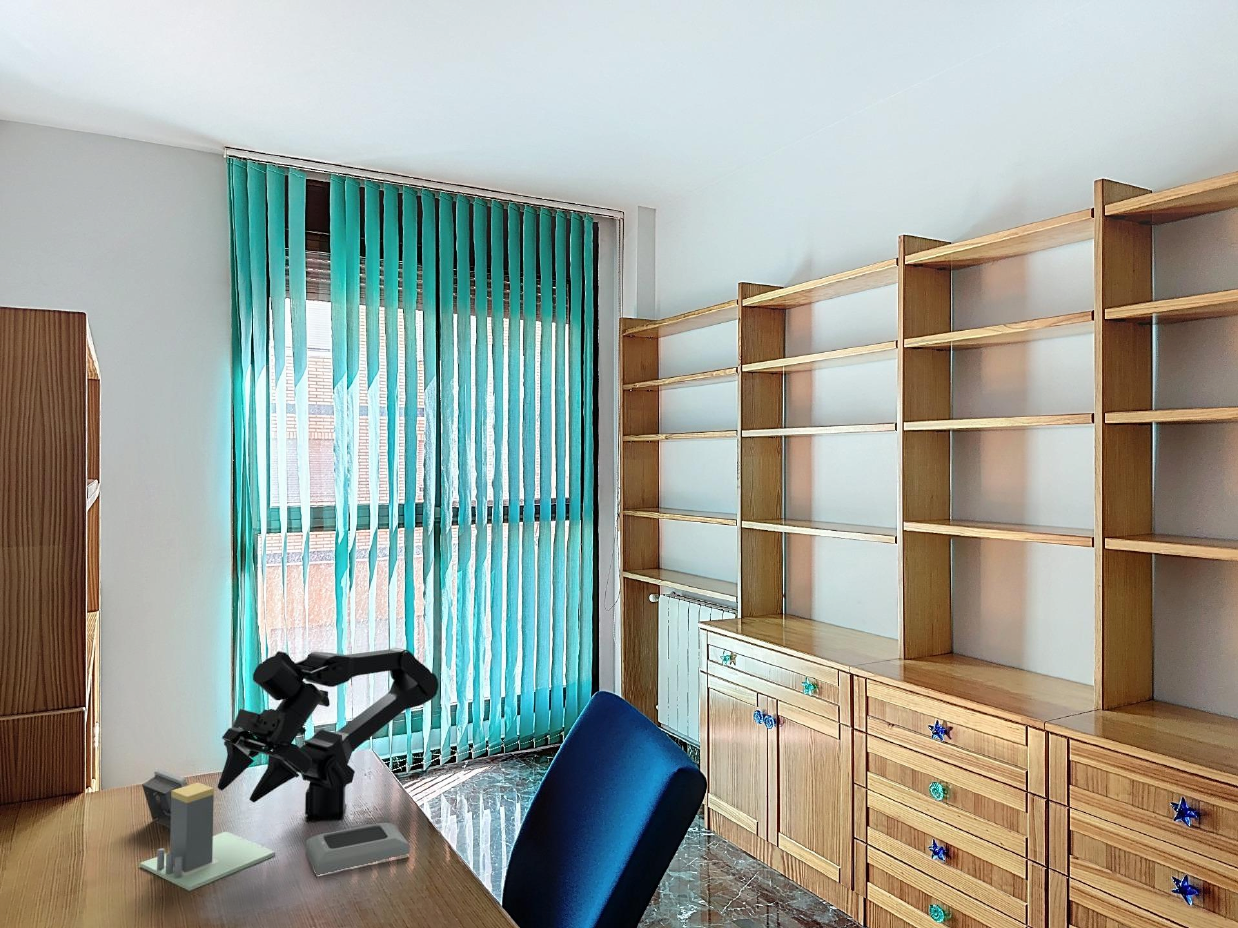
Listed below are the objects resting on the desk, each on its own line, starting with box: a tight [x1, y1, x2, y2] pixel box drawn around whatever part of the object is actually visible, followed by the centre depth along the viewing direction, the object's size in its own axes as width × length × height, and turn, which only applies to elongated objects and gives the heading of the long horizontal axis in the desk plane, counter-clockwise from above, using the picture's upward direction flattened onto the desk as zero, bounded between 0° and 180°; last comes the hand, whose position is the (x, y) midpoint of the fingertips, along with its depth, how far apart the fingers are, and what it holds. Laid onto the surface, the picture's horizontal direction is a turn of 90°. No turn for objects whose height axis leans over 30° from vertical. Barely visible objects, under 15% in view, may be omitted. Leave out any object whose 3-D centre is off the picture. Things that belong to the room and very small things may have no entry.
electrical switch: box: [141, 769, 189, 829], centre depth 158 cm, size 9×5×9 cm, turn 57°
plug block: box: [169, 782, 215, 872], centre depth 141 cm, size 4×4×12 cm
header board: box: [139, 831, 276, 891], centre depth 144 cm, size 15×14×4 cm
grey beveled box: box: [305, 822, 411, 875], centre depth 147 cm, size 10×4×15 cm
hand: (235, 794), depth 148 cm, fingers open, 9 cm apart
